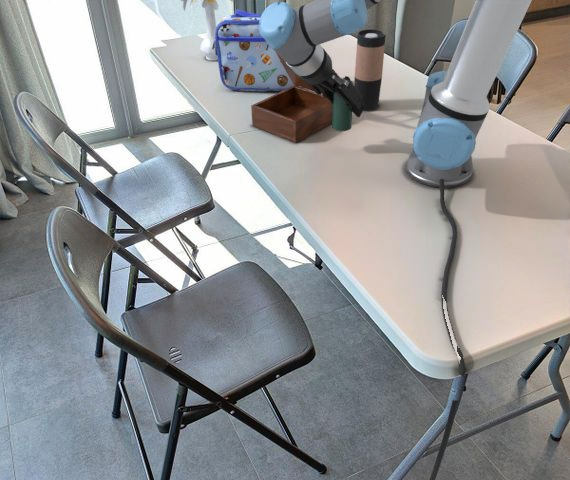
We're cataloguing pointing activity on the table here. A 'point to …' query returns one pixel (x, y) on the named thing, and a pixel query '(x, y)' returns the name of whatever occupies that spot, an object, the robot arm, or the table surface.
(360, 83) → the travel mug
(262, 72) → the lunch box
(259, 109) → the case
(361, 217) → the table surface
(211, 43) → the flower vase
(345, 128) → the tea tin
